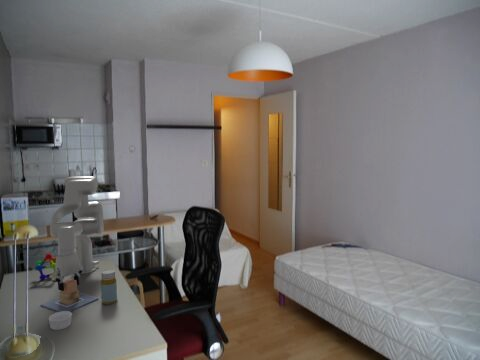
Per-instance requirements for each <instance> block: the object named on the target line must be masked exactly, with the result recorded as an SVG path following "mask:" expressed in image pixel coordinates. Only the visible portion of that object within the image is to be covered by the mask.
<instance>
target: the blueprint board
mask: <svg viewBox="0 0 480 360" xmlns="http://www.w3.org/2000/svg"><path fill="white" fill-rule="evenodd" d="M98 300H99V298H98V297H95V296H91V295H88V294H84V293H81V292H79V301H77V302H74V303H72V304H69V305H66V304H63V303H61V302H60V296H59V297H56V298H52V300H49V301H46V302H43V303H41V304H40V307H43V308H46V309H48V310H52V311H54V312H55V313H57V312H61V311H69V312H71V313H72V312H73V311H75V310H77V309H79V308H83V307H84V306H88V305H89V304H91V303H93V302H96V301H98Z"/></svg>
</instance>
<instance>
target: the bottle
mask: <svg viewBox="0 0 480 360" xmlns="http://www.w3.org/2000/svg"><path fill="white" fill-rule="evenodd" d="M117 288H118V287H117V278H116V270H115V269H105V270H102V271H101V280H100V292H101V293H100V294H101V295H100V296H101V303H102V304H104V305H112V304H114V303H116V302H117V301H118V293H117V291H118V289H117Z"/></svg>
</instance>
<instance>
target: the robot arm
mask: <svg viewBox="0 0 480 360" xmlns="http://www.w3.org/2000/svg"><path fill="white" fill-rule="evenodd" d="M64 186H65V187H64V188H65V189H64V196H63V204H62V205H61V206H59V207H58V208H57V209H56V211H54V213H53V215H52V216H51V220H50V226H49V233H50V236H51V238H54V239H57V245H58V246H57V250H58V251H57V252H58V253H57V254H58V255H56V262H55V263H56V267H55V273H54V272H53V273H54V274H53V275H51V277H52V278H51V279H52V280H54V281H55V282H56V283H57V289H58V291H60V292H61V291H64V283H63V281H64V279H65V277H69V276H72V275H73V280H76V281H77V286H79V285H80V277H81V275H85V274H90V273H92V272H93V273H94V272H95V271H96V270H97V269H96V265H99V264H100V260H96V261H94V259H93V242H92V239H91V238H90V237H89V236H90V235H101V234H102V233H103V232H104V230H105V229H104V227H105V226H104V225H105V223H104V212H103V211H104V210H103V205H102V203H101V202H99V201H89V196H90V195H91V196H92V195H94V194H95V193H96V191H97V189H98V187H99V181H98V178H97V176H92V175H91V176H89V175H88V176H87V175H86V176H84V175H83V176H78V175H77V176H68V177H65V178H64ZM72 213H73V215H74V218H76V220H74V221H67V222H66V221H65V222H64V221H63V222H60V220H61V219H62V218H64V217H65V216H67V215H70V214H72ZM56 276H58V278H57V277H56Z"/></svg>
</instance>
